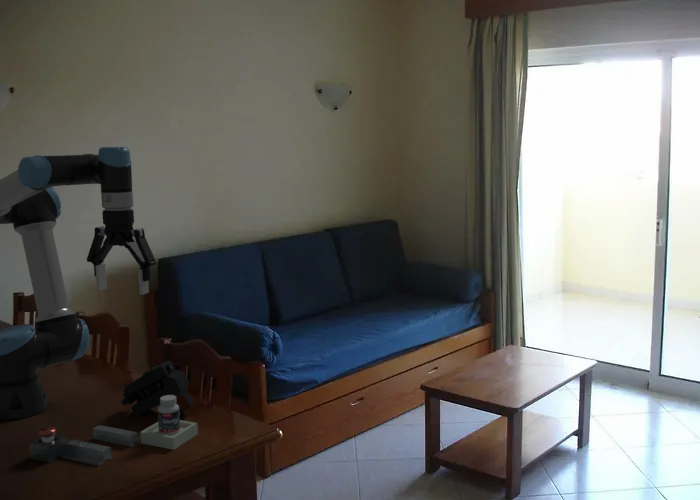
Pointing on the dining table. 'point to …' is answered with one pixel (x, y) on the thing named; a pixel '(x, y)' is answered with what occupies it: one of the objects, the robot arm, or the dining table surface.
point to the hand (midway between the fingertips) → (122, 291)
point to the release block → (47, 449)
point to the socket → (96, 452)
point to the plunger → (47, 434)
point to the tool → (158, 389)
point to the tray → (169, 441)
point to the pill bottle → (168, 415)
